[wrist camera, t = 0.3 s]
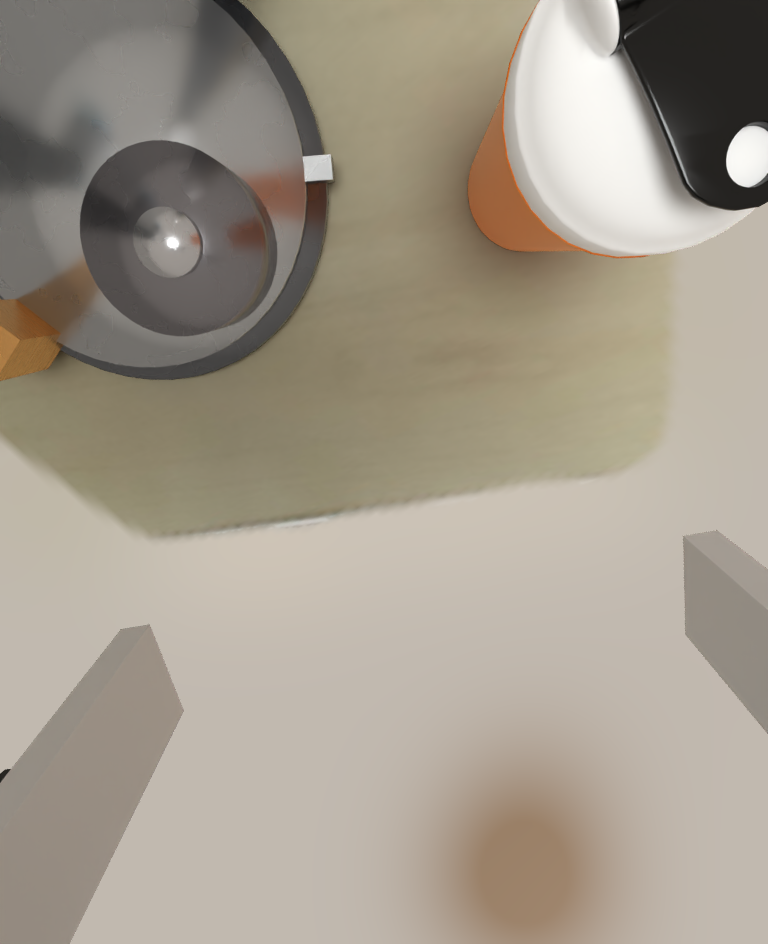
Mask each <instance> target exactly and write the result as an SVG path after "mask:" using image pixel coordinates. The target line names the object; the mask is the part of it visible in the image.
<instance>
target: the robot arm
mask: <svg viewBox="0 0 768 944" xmlns="http://www.w3.org/2000/svg"><path fill="white" fill-rule="evenodd" d="M683 544H684V545H683V547H684V587H685V588H684V589H685V631H686V632H685V634H686V636H687V637H688V638H689V639H690V641H691V642H692V643H693V644H694V645H695V647H696V648H697V649H698V650H699V651H700V652H701V654H702V655H703V656H704V657H705V659H706V660H707V661H708V662H709V664H710V665H711V666H712V667H713V668H714V670H715V671H716V672H717V673H718V674H719V676H720V677H721V678H722V679H723V680H724V682H725V683H726V684H727V685H728V686H729V688H730V689H731V690H732V691H733V692H734V693H735V695H736V696H737V697H738V698H739V700H740V701H741V702H742V703H743V704H744V706H745V707H746V708H747V709H748V710H749V712H750V713H751V714H752V715H753V716H754V718H755V719H756V720H757V721H758V723H759V724H760V725H761V726H762V727H763V729H764V730H765V731H766V732H767V733H768V569H767V568H766V567H764V566H763V565H762V564H760V563H759V562H757V561H756V560H755V559H754V558H752V557H751V556H750V555H748V554H747V553H746V552H744V551H743V550H742V549H741V548H739V547H738V546H737V545H736V544H734V543H733V542H732V541H730V540H729V539H728V538H726V537H725V536H724V535H722V534H721V533H720V532H718V531H711V532H704V533H698V534H693V535H686V536H683ZM183 711H184V710H183V707H182V705H181V702H180V700H179V697H178V695H177V692H176V690H175V687H174V685H173V683H172V680H171V677H170V675H169V672H168V670H167V667H166V664H165V662H164V659H163V657H162V654H161V652H160V649H159V647H158V644H157V642H156V640H155V637H154V634H153V632H152V629H151V627H150V625H144V626H138V627H132V628H126V629H121V630H120V631H119V633H118V634H117V635H116V636H115V638H114V639H113V640H112V642H111V643H110V644H109V645H108V646H107V648H106V649H105V650H104V652H103V653H102V654H101V655H100V657H99V658H98V659H97V660H96V662H95V663H94V664H93V666H92V667H91V668H90V669H89V671H88V672H87V673H86V674H85V676H84V677H83V678H82V680H81V681H80V682H79V684H78V685H77V686H76V687H75V688H74V690H73V691H72V692H71V694H70V695H69V696H68V697H67V699H66V700H65V701H64V702H63V704H62V705H61V706H60V708H59V709H58V710H57V712H56V713H55V714H54V715H53V716H52V718H51V719H50V721H49V722H48V723H47V724H46V725H45V727H44V728H43V729H42V731H41V732H40V733H39V734H38V736H37V737H36V738H35V739H34V741H33V742H32V743H31V745H30V746H29V747H28V748H27V750H26V751H25V752H24V753H23V755H22V756H21V757H20V758H19V760H18V761H17V762H16V763H15V765H14V766H13V767H12V769H7V770H4V771H3V772H2V773H1V774H0V944H70V942H71V940H72V938H73V936H74V934H75V932H76V930H77V927H78V926H79V924H80V921H81V920H82V917H83V915H84V913H85V911H86V909H87V907H88V905H89V903H90V901H91V899H92V897H93V895H94V893H95V891H96V889H97V887H98V885H99V883H100V881H101V879H102V877H103V875H104V872H105V871H106V869H107V867H108V864H109V862H110V860H111V858H112V856H113V854H114V852H115V850H116V848H117V846H118V844H119V842H120V840H121V838H122V836H123V834H124V832H125V830H126V827H127V826H128V824H129V822H130V820H131V818H132V816H133V813H134V811H135V809H136V807H137V805H138V803H139V801H140V799H141V797H142V795H143V793H144V791H145V789H146V787H147V785H148V783H149V781H150V779H151V777H152V775H153V773H154V771H155V769H156V767H157V764H158V762H159V760H160V758H161V756H162V754H163V752H164V750H165V748H166V746H167V744H168V742H169V740H170V738H171V736H172V734H173V732H174V730H175V728H176V726H177V724H178V721H179V720H180V718H181V716H182V713H183Z"/></svg>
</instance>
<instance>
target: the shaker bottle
mask: <svg viewBox="0 0 768 944" xmlns="http://www.w3.org/2000/svg"><path fill="white" fill-rule="evenodd" d="M468 199H469V205H470V209H471V212H472V215H473V217H474V220H475V222H476V223H477V225H478V227H479V228H480V230H481V231H482V232H483V233H484V234H485V235H486V236H487V237H488V239H490V240H491V241H493V242H494V243H496V244H497V245H499V246H501V247H504V248H506V249H508V250H514V251H520V252H527V251H585V252H588V253H590V254H594V255H600V256H606V257H612V258H633V257H645V256H649V255H654V254H664V253H669V252H673V251H677V250H681V249H685V248H689V247H693V246H695V245H697V244H699V243H702V242H704V241H706V240H708V239H710V238H712V237H715V236H717V235H719V234H721V233H723V232H724V231H726V230H727V229H729V228H730V227H731V226H733V225H734V224H736V223H737V222H739V221H740V220H742V219H743V218H745V217H746V216H747V215H749V214H750V213H751V212H752V211H753V210H754V209H755V208H756V207H759V206H761V205H763V204H765V203H767V202H768V0H539V1H538V3H537V5H536V7H535V8H534V10H533V12H532V14H531V15H530V17H529V19H528V21H527V22H526V24H525V26H524V28H523V29H522V31H521V34H520V36H519V39H518V42H517V44H516V47H515V50H514V52H513V55H512V58H511V60H510V63H509V67H508V72H507V78H506V83H505V88H504V92H503V94H502V97H501V99H500V101H499V103H498V106H497V108H496V110H495V113H494V115H493V117H492V119H491V122H490V124H489V126H488V129H487V131H486V133H485V135H484V138H483V140H482V142H481V145H480V147H479V149H478V151H477V154H476V156H475V159H474V161H473V164H472V167H471V169H470V175H469V180H468Z"/></svg>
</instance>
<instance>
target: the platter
mask: <svg viewBox="0 0 768 944" xmlns="http://www.w3.org/2000/svg"><path fill="white" fill-rule="evenodd" d="M151 140H167V141H174V142H179V143H182V144H186V145H189V146H192V147H194V148H196V149H198V150H201V151H203V152H204V153H206V154H207V155H209V156H211V157H212V158H214V159H215V160H217V161H218V162H220V163H221V164H223V165H224V166H225V167H227V168H228V169H230V170H231V171H233V172H234V173H236V174H237V175H238V176H239V177H241V178H242V179H243V180H244V181H245V182H246V183H247V184H248V185H249V186H250V187H251V188H252V189H253V190H254V191H255V192H256V194H257V195H258V196H259V198H260V199H261V201H262V202H263V204H264V206H265V207H266V209H267V211H268V214H269V216H270V218H271V221H272V224H273V227H274V231H275V236H276V241H277V266H276V271H275V276H274V279H273V282H272V285H271V287H270V289H269V292H268V294H267V295H266V297H265V298H264V300H263V302H262V303H261V304H260V305H259V306H258V308H257V309H256V310H255V311H254V312H253V313H251V314H250V315H249V316H248V317H246V318H245V319H243V320H242V321H240V322H238V323H236V324H234V325H231V326H228V327H225V328H221V329H218V330H214V331H211V332H207V333H203V334H200V335H194V336H171V335H164V334H160V333H157V332H153V331H151V330H148V329H146V328H143V327H142V326H140V325H138V324H136V323H134V322H133V321H131V320H130V319H128V318H127V317H126V316H124V315H123V314H122V313H121V312H119V311H118V310H117V309H116V308H115V307H114V306H113V305H112V304H111V303H110V302H109V301H108V299H107V298H106V297H105V296H104V295H103V293H102V292H101V290H100V289H99V288H98V286H97V284H96V283H95V281H94V279H93V277H92V275H91V273H90V271H89V268H88V266H87V264H86V260H85V257H84V254H83V250H82V244H81V239H80V213H81V208H82V203H83V199H84V196H85V193H86V190H87V187H88V185H89V183H90V182H91V180H92V178H93V176H94V175H95V173H96V172H97V171H98V169H99V168H100V167H101V166H102V165H103V164H104V163H105V162H106V160H107V159H109V158H110V157H111V156H113V155H114V154H115V153H117V152H118V151H120V150H122V149H124V148H126V147H128V146H130V145H133V144H136V143H139V142H145V141H151ZM333 182H335V180H334V168H333V158H332V156H331V154H328V155H316V156H304V150H303V145H302V141H301V138H300V134H299V131H298V127H297V124H296V120H295V118H294V115H293V113H292V110H291V108H290V105H289V103H288V101H287V98H286V96H285V93H284V92H283V90H282V88H281V86H280V84H279V83H278V81H277V79H276V77H275V75H274V73H273V72H272V70H271V68H270V66H269V65H268V63H267V61H266V60H265V58H264V57H263V55H262V54H261V53H260V51H259V50H258V48H257V47H256V45H255V44H254V43H253V41H252V40H251V38H250V37H249V36H248V35H247V34H246V32H245V31H244V30H243V29H242V28H241V27H240V26H239V25H238V24H237V22H236V21H235V20H234V19H233V18H232V17H231V16H230V15H229V14H228V13H227V12H226V11H225V10H224V9H222V8H221V7H220V6H219V5H218V4H217V3H215V2H214V1H213V0H0V295H1V296H2V297H3V298H4V300H0V381H2V380H6V379H10V378H14V377H17V376H21V375H25V374H29V373H33V372H37V371H41V370H45V369H48V368H49V366H50V365H51V363H52V362H53V360H54V359H55V357H56V356H57V354H58V353H59V351H60V350H61V348H62V347H63V345H65V346H66V347H68V348H70V349H72V350H74V351H77V352H79V353H82V354H84V355H87V356H89V357H92V358H94V359H98V360H102V361H106V362H109V363H113V364H117V365H125V366H133V367H165V366H172V365H179V364H184V363H187V362H191V361H194V360H198V359H201V358H204V357H206V356H208V355H211V354H213V353H215V352H217V351H220V350H222V349H224V348H226V347H228V346H229V345H231V344H233V343H234V342H236V341H237V340H239V339H241V338H242V337H244V336H245V335H246V334H247V333H248V332H249V331H251V330H252V329H253V328H254V327H255V326H256V325H258V324H259V323H260V322H261V320H262V319H263V318H264V317H265V316H266V315H267V314H268V313H269V311H270V310H271V309H272V308H273V307H274V305H275V304H276V302H277V301H278V299H279V298H280V296H281V294H282V293H283V291H284V290H285V288H286V286H287V284H288V282H289V280H290V278H291V276H292V274H293V272H294V269H295V266H296V263H297V260H298V257H299V254H300V251H301V248H302V244H303V239H304V234H305V229H306V224H307V210H308V184H321V183H333Z"/></svg>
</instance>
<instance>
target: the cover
mask: <svg viewBox="0 0 768 944" xmlns="http://www.w3.org/2000/svg"><path fill="white" fill-rule="evenodd" d="M80 239H81V244H82V250H83V254H84V257H85V260H86V264H87V266H88V268H89V271H90V273H91V275H92V277H93V279H94V281H95V283H96V284H97V286H98V288H99V289H100V290H101V292H102V293H103V295H104V296H105V297H106V298H107V299H108V301H109V302H110V303H111V304H112V305H113V306H114V307H115V308H116V309H117V310H118V311H119V312H121V313H122V314H123V315H124V316H126V317H127V318H128V319H130V320H131V321H133V322H134V323H136V324H138V325H140V326H142V327H143V328H146V329H148V330H151V331H153V332H157V333H160V334H164V335H171V336H194V335H200V334H203V333H207V332H211V331H214V330H218V329H221V328H225V327H228V326H231V325H234V324H236V323H238V322H240V321H242V320H243V319H245V318H246V317H248V316H249V315H250V314H251V313H253V312H254V311H255V310H256V309H257V308H258V306H259V305H260V304H261V303H262V302H263V300H264V298H265V297H266V295H267V294H268V292H269V289H270V287H271V285H272V282H273V279H274V276H275V271H276V266H277V241H276V236H275V231H274V227H273V224H272V221H271V218H270V216H269V214H268V211H267V209H266V207H265V206H264V204H263V202H262V201H261V199H260V198H259V196H258V195H257V194H256V192H255V191H254V190H253V189H252V188H251V187H250V186H249V185H248V184H247V183H246V182H245V181H244V180H243V179H242V178H241V177H239V176H238V175H237V174H236V173H234V172H233V171H231V170H230V169H228V168H227V167H225V166H224V165H223V164H221V163H220V162H218V161H217V160H215V159H214V158H212V157H211V156H209V155H207V154H206V153H204V152H203V151H201V150H198V149H196V148H194V147H192V146H189V145H186V144H182V143H179V142H174V141H167V140H151V141H145V142H139V143H136V144H133V145H130V146H128V147H126V148H124V149H122V150H120V151H118V152H117V153H115V154H114V155H113V156H111V157H110V158H109V159H107V160H106V162H105V163H104V164H103V165H102V166H101V167H100V168H99V169H98V171H97V172H96V173H95V175H94V176H93V178H92V180H91V182H90V183H89V185H88V187H87V190H86V193H85V196H84V199H83V203H82V208H81V213H80Z"/></svg>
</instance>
